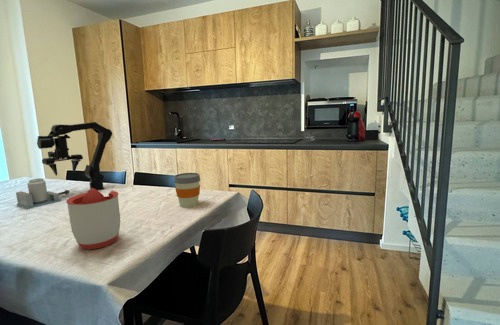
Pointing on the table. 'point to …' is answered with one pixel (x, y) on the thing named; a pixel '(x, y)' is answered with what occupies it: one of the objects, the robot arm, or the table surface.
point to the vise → (27, 202)
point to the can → (38, 190)
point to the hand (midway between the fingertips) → (65, 173)
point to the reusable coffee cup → (187, 188)
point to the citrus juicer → (94, 218)
